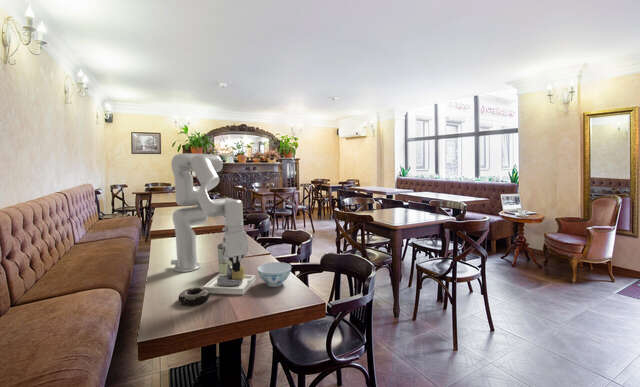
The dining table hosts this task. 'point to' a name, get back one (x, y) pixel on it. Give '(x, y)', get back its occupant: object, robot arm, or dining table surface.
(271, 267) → the chinaware
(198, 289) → the donut
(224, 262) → the coffee can
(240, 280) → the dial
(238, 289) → the white square tray
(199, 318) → the dining table surface
